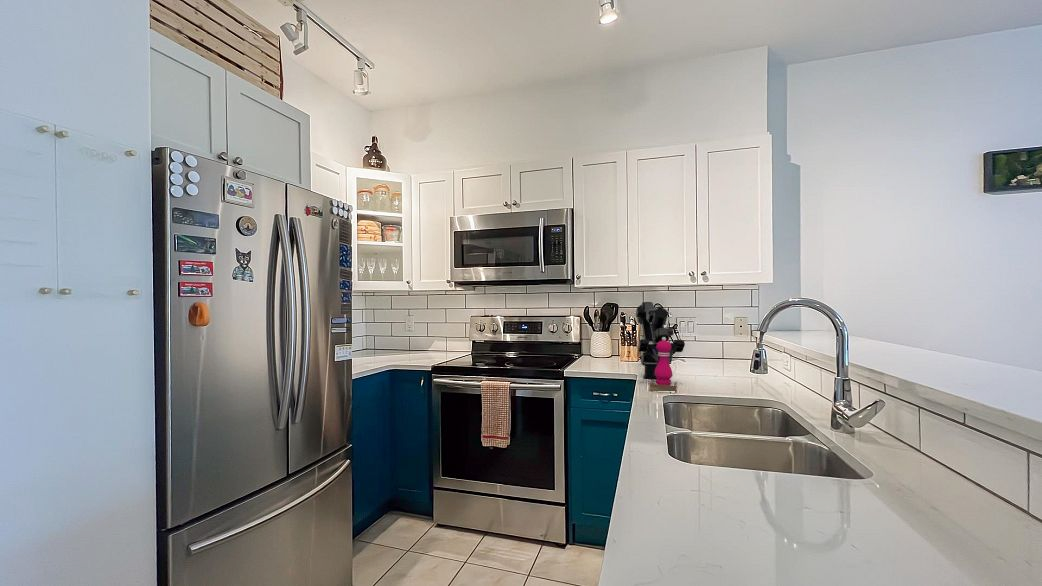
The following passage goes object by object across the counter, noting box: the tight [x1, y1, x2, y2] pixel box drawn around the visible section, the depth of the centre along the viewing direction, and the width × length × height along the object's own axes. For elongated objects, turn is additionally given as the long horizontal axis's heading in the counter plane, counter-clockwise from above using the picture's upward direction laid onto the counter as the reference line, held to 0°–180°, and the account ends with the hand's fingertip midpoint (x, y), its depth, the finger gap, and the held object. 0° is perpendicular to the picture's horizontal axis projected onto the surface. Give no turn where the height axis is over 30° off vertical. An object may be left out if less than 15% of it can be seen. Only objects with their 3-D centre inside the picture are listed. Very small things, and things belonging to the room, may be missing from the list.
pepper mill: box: [654, 337, 673, 386], centre depth 185 cm, size 7×7×20 cm
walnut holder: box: [649, 379, 678, 392], centre depth 185 cm, size 9×10×3 cm
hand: (664, 361), depth 184 cm, fingers closed on pepper mill, 5 cm apart
